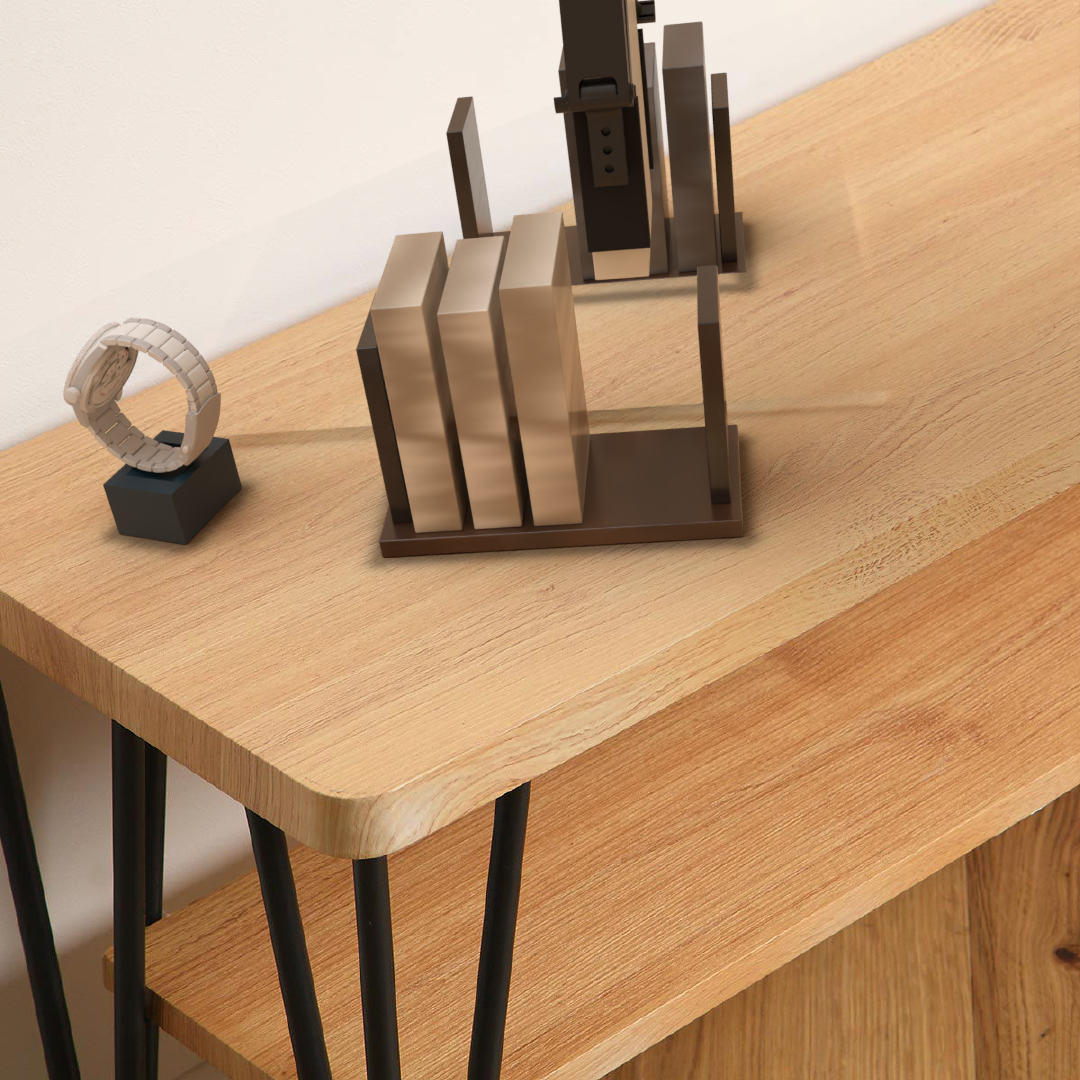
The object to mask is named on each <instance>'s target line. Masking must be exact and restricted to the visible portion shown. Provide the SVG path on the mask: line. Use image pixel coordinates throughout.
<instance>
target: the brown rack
mask: <svg viewBox="0 0 1080 1080" xmlns="http://www.w3.org/2000/svg"><path fill="white" fill-rule="evenodd" d="M564 226H565V220H564V213H563V211H562V210H561V211H551V212H538V213H528V214H527V213H526V214H515V215H513V219H512V224H511V229H510V231H511V233H510V237H509V242H508V247H507V251H506V244H505V238H504V236H494V237H482V238H470V239H463V238H461V239H456V242H455V244H454V245H455V246H454V249H453V253H452V257H451V261H450V265H449V260H448V259H449V258H448V253H447V249H446V242H445V236H444V232H443V231H429V232H418V233H417V232H415V233H406V234H396V235H395V236H394V239H393V243H392V245H391V248H390V251H389V255H388V257H387V260H386V263H385V266H384V269H383V271H382V274H381V277H380V280H379V282H378V286H377V289H376V291H375V292H374V295H373V298H372V301H371V305H370V307H369V311H368V314H367V316H366V319H365V322H364V325H363V328H362V331H361V334H360V337H359V339H358V342H357V345H356V348H355V351H356V356H357V360H358V366H359V370H360V375H361V380H362V384H363V390H364V394H365V399H366V403H367V407H368V413H369V418H370V422H371V427H372V431H373V437H374V442H375V445H376V450H377V456H378V461H379V465H380V469H381V474H382V479H383V485H384V490H385V493H386V498H387V504H388V507H387V511H386V514H385V517H384V522H383V526H382V528H381V529H382V530H381V532H380V536H379V540H378V544H379V549H380V554H381V557H382V558H389V557H406V556H408V557H409V556H423V555H424V556H425V555H441V554H442V555H444V554H459V553H475V552H477V553H478V552H479V553H480V552H493V551H512V550H527V549H531V550H532V549H547V548H548V549H549V548H563V547H580V546H597V545H598V546H600V545H614V544H615V545H618V544H632V543H634V544H635V543H648V542H649V543H651V542H667V541H685V540H703V539H719V538H720V539H721V538H722V539H723V538H737V537H743V536H744V519H743V517H744V516H743V496H742V475H741V457H740V437H739V426H738V424H729V423H728V421H729V420H728V405H727V390H726V377H725V375H726V374H725V360H724V345H723V328H722V315H721V299H720V286H719V285H720V284H719V274H718V267H717V265H710V266H698V267H697V276H696V309H697V310H696V311H697V312H696V313H697V314H696V315H697V316H696V317H697V319H696V321H697V323H696V324H697V337H698V349H699V363H700V375H701V391H702V402H703V416H704V426H691V427H675V428H661V429H646V430H632V431H631V430H630V431H615V432H601V433H590V432H591V431H590V425H589V417H588V408H587V400H586V392H585V391H586V390H585V385H584V374H583V367H582V359H581V352H580V343H579V336H578V335H579V334H578V325H577V318H576V311H575V302H574V295H573V294H574V293H573V286H572V285H571V277H570V268H569V260H568V252H567V244H566V236H565V228H564Z"/></svg>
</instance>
